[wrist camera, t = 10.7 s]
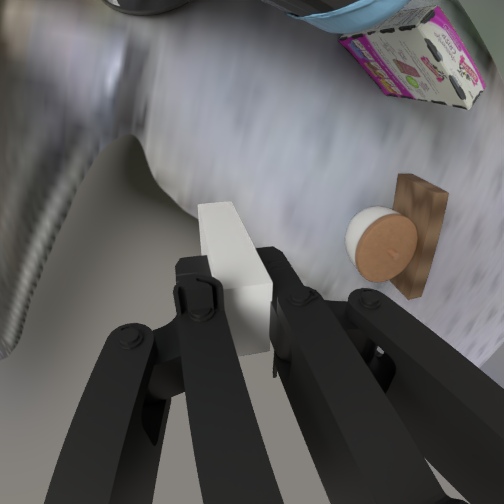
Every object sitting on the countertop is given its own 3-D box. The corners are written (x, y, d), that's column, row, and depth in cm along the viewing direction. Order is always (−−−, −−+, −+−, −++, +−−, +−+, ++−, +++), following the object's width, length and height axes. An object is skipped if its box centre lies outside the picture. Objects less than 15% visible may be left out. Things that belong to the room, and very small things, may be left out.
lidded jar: (363, 183, 46) (400, 206, 38) (400, 218, 51) (435, 244, 43) (320, 238, 49) (349, 270, 41) (361, 267, 54) (390, 298, 46)
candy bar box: (403, 75, 39) (488, 87, 25) (385, 96, 40) (469, 113, 26) (356, 18, 33) (439, 3, 19) (335, 39, 34) (416, 27, 20)
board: (398, 173, 46) (435, 193, 39) (411, 173, 47) (448, 192, 39) (380, 270, 55) (408, 299, 47) (393, 268, 56) (421, 296, 48)
